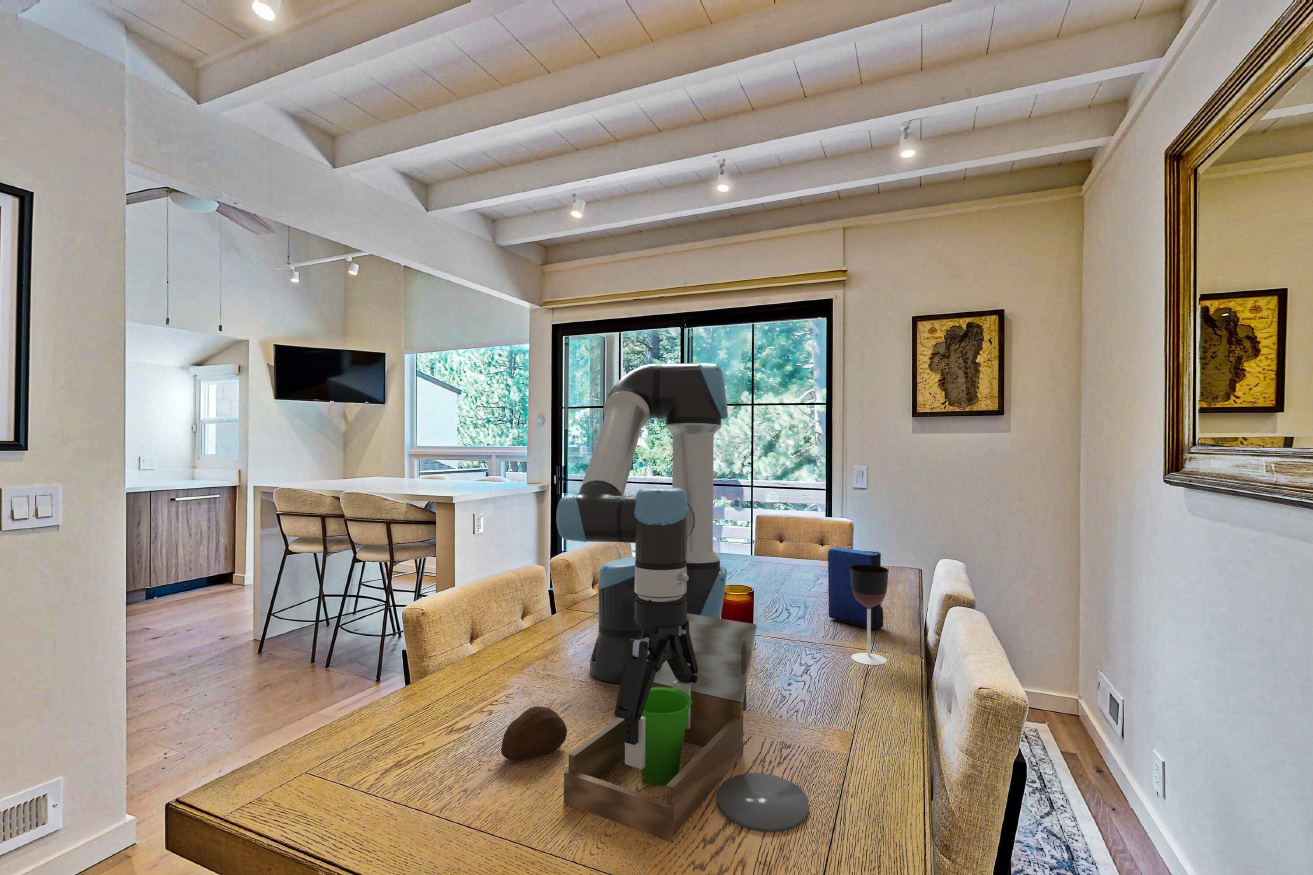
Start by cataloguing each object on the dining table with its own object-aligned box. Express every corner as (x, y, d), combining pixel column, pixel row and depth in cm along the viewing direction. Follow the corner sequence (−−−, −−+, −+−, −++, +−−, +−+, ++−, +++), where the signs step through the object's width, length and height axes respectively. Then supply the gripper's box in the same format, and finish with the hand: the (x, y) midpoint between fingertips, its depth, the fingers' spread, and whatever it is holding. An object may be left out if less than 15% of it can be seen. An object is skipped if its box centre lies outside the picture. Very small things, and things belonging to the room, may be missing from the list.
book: (885, 628, 158) (886, 551, 158) (875, 632, 155) (875, 553, 155) (836, 616, 169) (836, 544, 169) (825, 620, 165) (826, 546, 166)
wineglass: (848, 662, 134) (848, 570, 134) (851, 650, 142) (851, 563, 142) (887, 667, 131) (887, 574, 131) (888, 654, 139) (888, 566, 139)
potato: (492, 754, 94) (492, 708, 94) (553, 735, 100) (553, 692, 100) (511, 774, 88) (511, 725, 88) (574, 752, 95) (575, 707, 95)
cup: (686, 797, 83) (686, 716, 83) (621, 789, 84) (621, 709, 85) (695, 763, 91) (696, 689, 92) (636, 757, 93) (636, 684, 93)
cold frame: (563, 802, 81) (564, 662, 82) (669, 715, 107) (670, 609, 108) (669, 841, 74) (670, 686, 74) (756, 737, 100) (756, 623, 100)
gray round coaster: (702, 813, 79) (702, 807, 79) (736, 770, 90) (737, 764, 90) (792, 843, 73) (792, 836, 73) (819, 793, 84) (819, 787, 84)
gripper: (638, 618, 75) (636, 793, 75) (719, 582, 97) (718, 717, 97) (588, 610, 79) (586, 777, 79) (677, 577, 101) (676, 707, 100)
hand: (659, 744), depth 88 cm, fingers open, 13 cm apart
